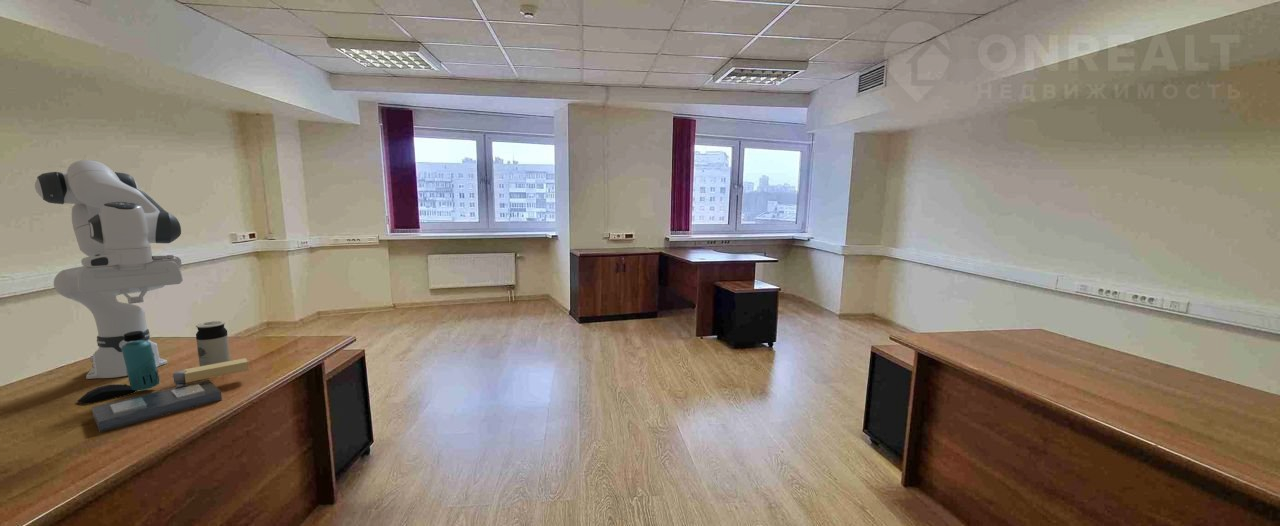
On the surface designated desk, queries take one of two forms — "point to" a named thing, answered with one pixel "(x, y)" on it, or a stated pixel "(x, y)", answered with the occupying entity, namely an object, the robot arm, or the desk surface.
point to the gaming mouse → (106, 393)
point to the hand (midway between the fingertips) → (136, 302)
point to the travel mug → (212, 343)
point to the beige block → (210, 371)
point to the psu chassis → (155, 404)
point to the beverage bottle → (139, 362)
